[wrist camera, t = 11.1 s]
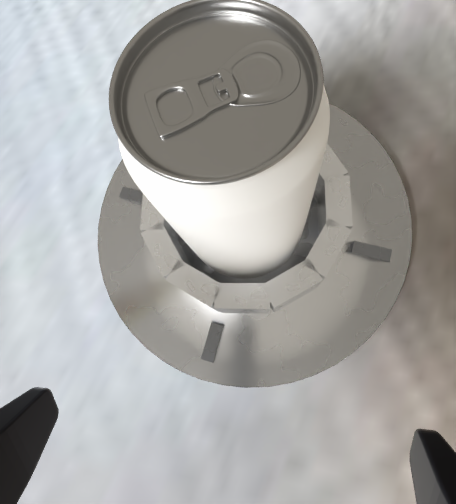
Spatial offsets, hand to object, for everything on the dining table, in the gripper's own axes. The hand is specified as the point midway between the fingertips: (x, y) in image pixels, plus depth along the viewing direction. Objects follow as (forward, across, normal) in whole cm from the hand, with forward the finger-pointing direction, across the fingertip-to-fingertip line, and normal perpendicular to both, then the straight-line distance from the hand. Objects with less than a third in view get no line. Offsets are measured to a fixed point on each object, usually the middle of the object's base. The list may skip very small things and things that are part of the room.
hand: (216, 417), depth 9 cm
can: (+14, +1, +1) cm, 14 cm away
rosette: (+14, +1, +1) cm, 14 cm away
